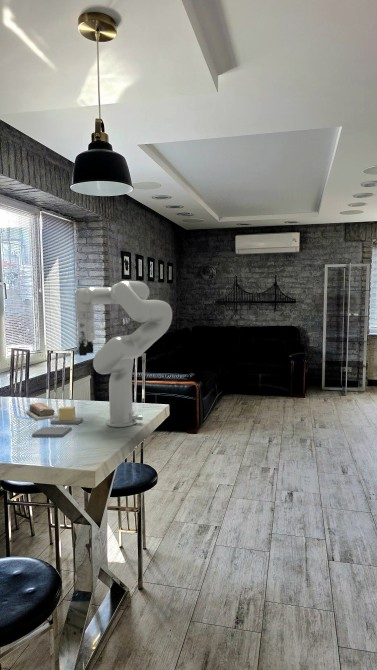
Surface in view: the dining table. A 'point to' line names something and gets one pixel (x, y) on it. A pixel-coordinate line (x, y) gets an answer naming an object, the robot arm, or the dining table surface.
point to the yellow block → (67, 416)
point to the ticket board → (52, 432)
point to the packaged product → (41, 412)
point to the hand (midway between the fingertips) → (86, 354)
